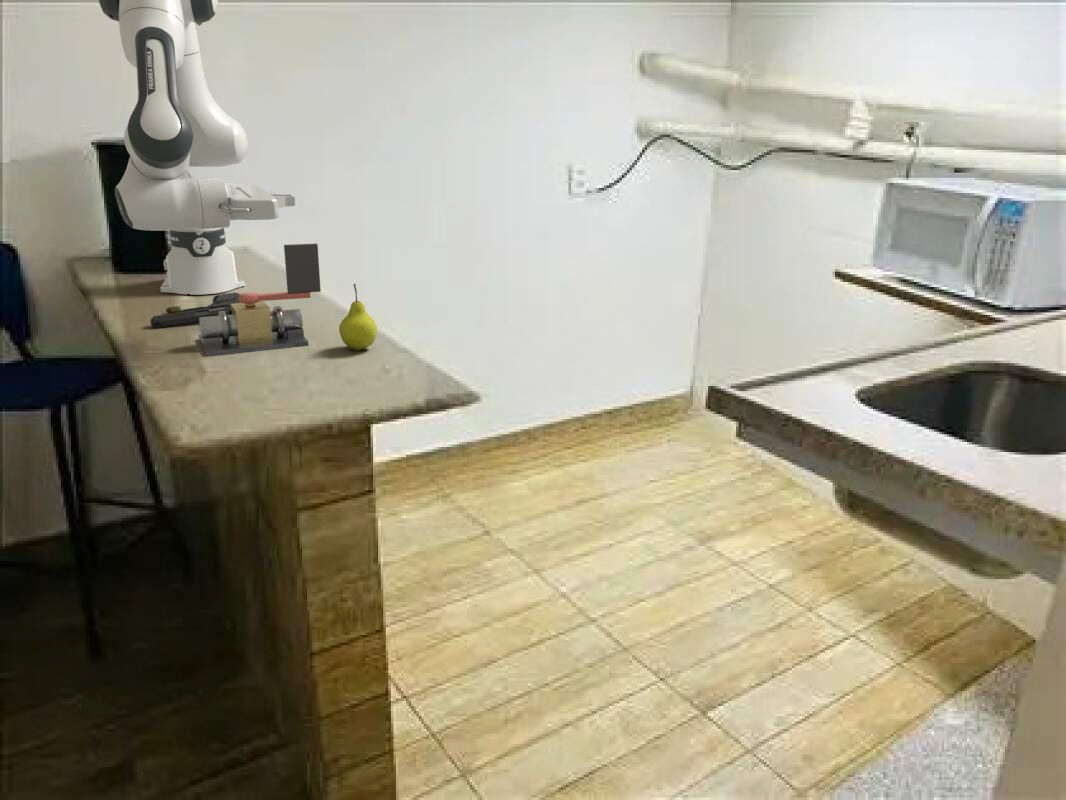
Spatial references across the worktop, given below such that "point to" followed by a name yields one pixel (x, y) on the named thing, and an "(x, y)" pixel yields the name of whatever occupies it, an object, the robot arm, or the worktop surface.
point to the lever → (294, 275)
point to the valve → (251, 329)
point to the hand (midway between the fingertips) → (293, 200)
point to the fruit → (358, 327)
